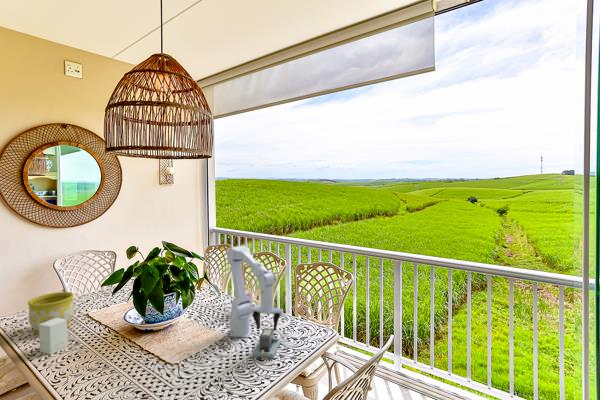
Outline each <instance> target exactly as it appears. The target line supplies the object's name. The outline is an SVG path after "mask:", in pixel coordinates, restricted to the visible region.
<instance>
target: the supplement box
mask: <svg viewBox="0 0 600 400" xmlns="http://www.w3.org/2000/svg"><path fill="white" fill-rule="evenodd" d="M38 335H39V337H38V338H39V352H40V353H44V354H47V355H53V354H54V353H57V352H60V351H62V350H63V349H66V348H67V347H68V346H69V345H68V340H69V339H68V326H67V320H65V319H60V318H54V319H52V320H49V321H47V322H44V323H41V324H39V334H38Z"/></svg>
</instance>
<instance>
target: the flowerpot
mask: <svg viewBox="0 0 600 400" xmlns="http://www.w3.org/2000/svg"><path fill="white" fill-rule="evenodd" d="M74 295H75V294H74V293H73V292H72V291H71V292H70V291H57V292H51V293H45V294H42V295H38V296H35V297H33V298H31V299H30V300H28V302H27V305H28V306H29V307H28V309H29V310H28V323H29V325H30V326H31V328H32V329H34V330H33V332H34V333H35V334H36V335H39V324H41V323H44V322H47V321H49V320H52V319H54V318H60V319H65V320H67V327H68V326H69V325H70V324H71V322H70V321H71V319H72V318H73V315H74V312H75V306H74V305H75V304H74Z"/></svg>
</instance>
